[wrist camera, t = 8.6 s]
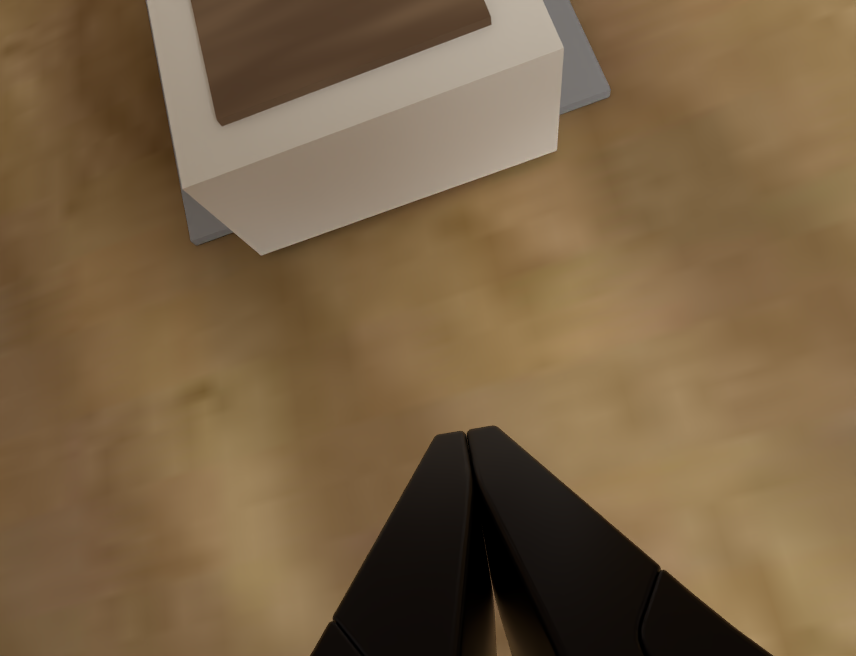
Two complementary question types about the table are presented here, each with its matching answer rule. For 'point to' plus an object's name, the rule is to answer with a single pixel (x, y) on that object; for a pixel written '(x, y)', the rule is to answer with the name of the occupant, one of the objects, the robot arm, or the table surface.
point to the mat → (577, 90)
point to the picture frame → (350, 104)
